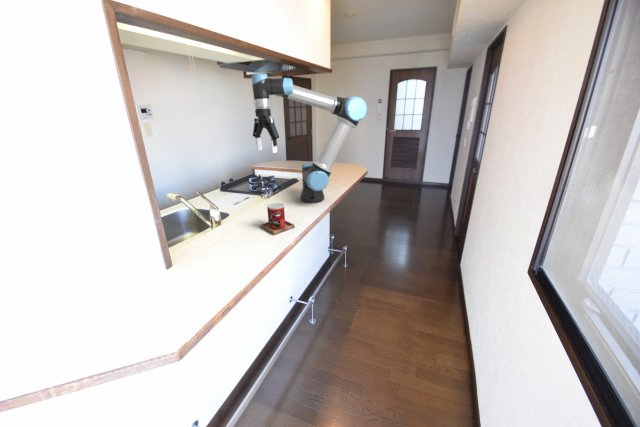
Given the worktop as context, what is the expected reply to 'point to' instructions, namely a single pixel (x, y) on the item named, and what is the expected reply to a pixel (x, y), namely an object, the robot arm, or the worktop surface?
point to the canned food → (276, 216)
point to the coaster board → (287, 227)
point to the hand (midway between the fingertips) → (266, 151)
